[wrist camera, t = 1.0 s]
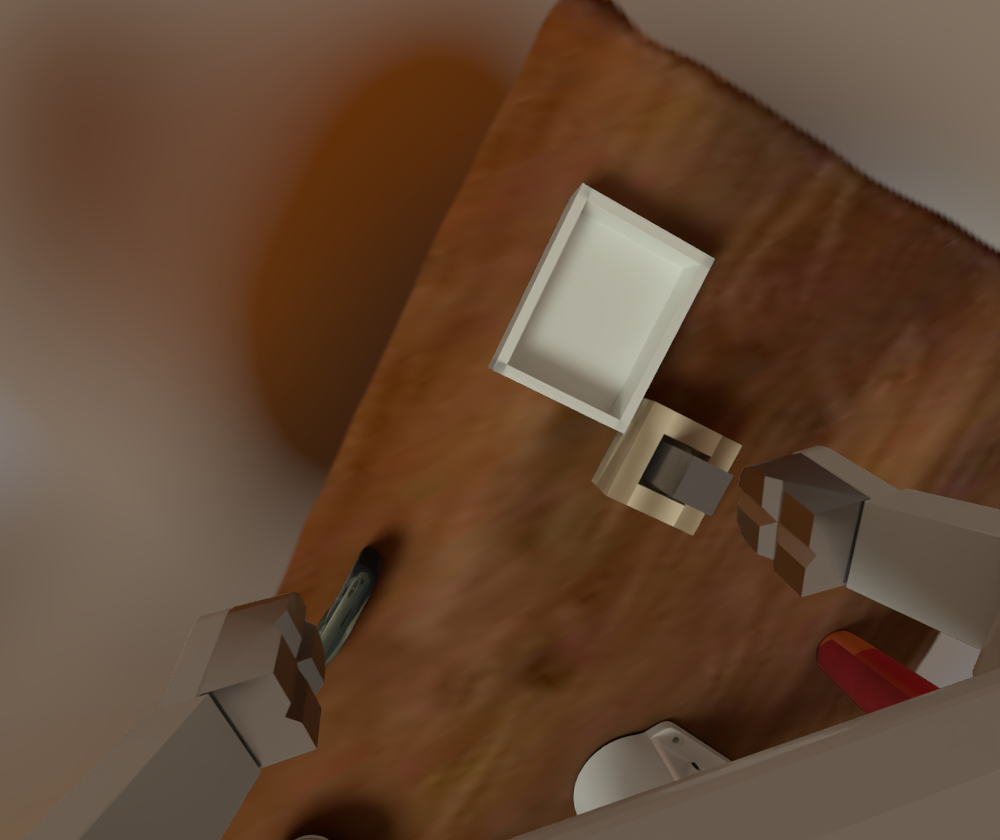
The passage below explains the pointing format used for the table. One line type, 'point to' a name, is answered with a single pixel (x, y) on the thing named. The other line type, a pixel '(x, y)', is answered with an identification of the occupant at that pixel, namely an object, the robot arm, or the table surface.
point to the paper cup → (868, 672)
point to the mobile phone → (349, 603)
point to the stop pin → (687, 478)
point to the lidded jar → (311, 837)
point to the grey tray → (601, 309)
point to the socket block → (636, 449)
